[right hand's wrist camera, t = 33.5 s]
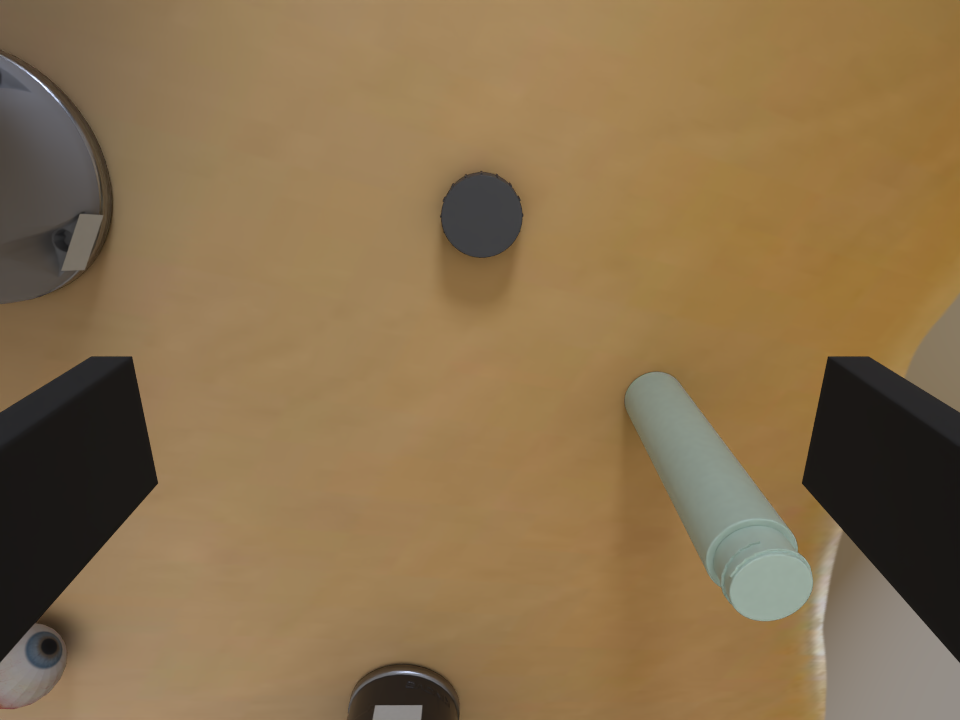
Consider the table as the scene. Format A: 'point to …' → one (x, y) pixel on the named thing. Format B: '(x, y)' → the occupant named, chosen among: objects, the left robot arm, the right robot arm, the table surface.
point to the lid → (481, 215)
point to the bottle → (719, 503)
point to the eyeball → (32, 667)
